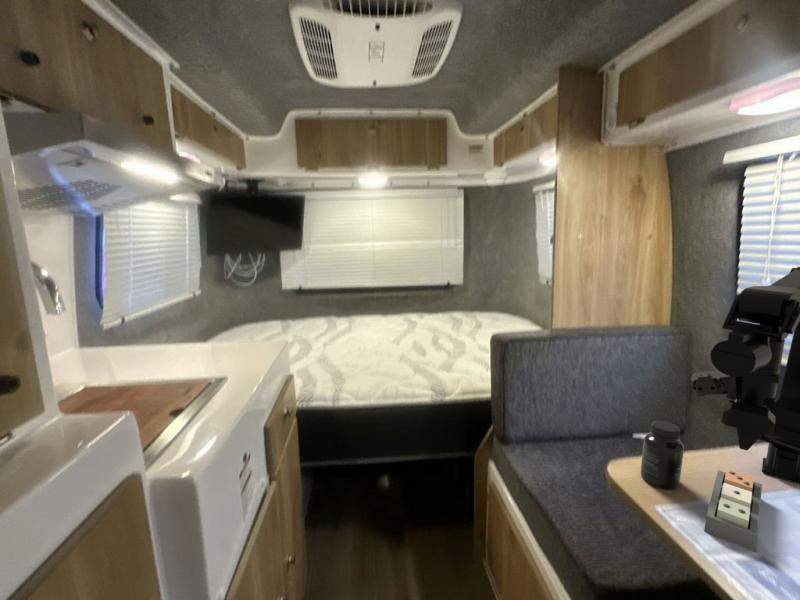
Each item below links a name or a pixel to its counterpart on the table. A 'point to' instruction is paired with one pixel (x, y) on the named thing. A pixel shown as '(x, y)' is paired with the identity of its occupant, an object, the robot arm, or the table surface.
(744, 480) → the tile three dots
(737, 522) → the tile two dots
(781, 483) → the table surface
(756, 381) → the robot arm
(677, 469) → the supplement bottle
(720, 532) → the grey tile tray
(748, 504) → the tile one dot
